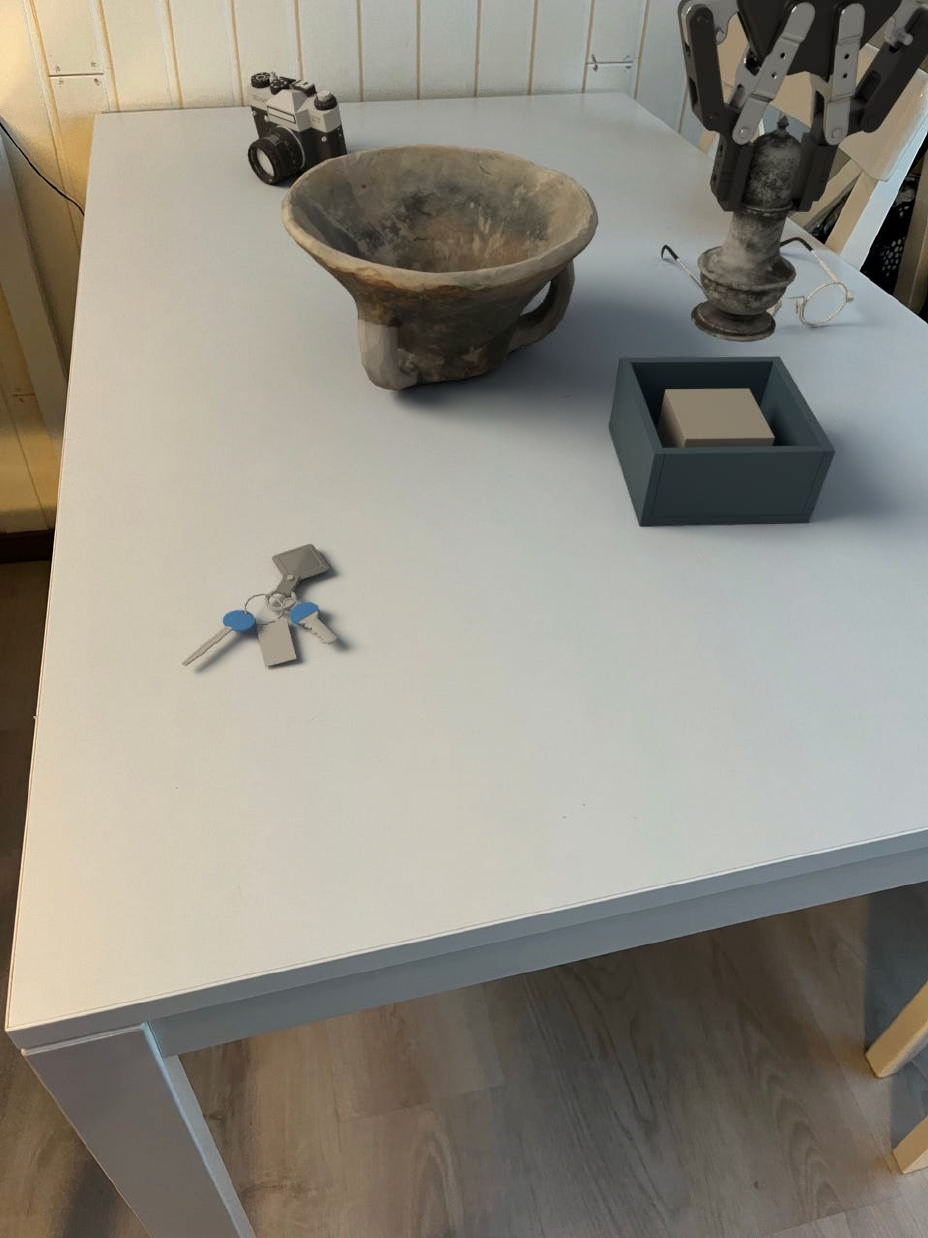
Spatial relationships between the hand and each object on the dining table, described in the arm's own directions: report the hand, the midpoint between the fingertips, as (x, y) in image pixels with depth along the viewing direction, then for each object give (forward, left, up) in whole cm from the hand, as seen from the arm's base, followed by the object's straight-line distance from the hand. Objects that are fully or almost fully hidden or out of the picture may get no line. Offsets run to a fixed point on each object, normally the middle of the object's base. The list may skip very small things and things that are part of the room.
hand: (762, 204), depth 55 cm
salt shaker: (0, 0, -7) cm, 7 cm away
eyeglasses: (-17, -40, -25) cm, 51 cm away
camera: (+34, -73, -25) cm, 85 cm away
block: (-4, -8, -24) cm, 26 cm away
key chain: (+29, +8, -25) cm, 39 cm away
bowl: (+17, -27, -25) cm, 41 cm away
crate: (-4, -8, -25) cm, 27 cm away
